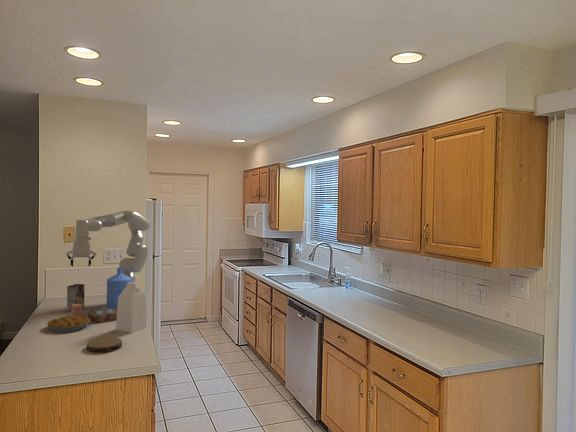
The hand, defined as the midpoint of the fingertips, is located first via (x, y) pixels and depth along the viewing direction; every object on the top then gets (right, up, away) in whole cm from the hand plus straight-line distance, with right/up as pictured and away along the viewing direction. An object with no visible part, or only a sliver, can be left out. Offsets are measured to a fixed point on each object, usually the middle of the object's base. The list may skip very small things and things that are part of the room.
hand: (80, 266), depth 277 cm
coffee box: (-9, -30, +11) cm, 33 cm away
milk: (+42, -32, -28) cm, 60 cm away
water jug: (+20, -31, +12) cm, 38 cm away
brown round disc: (+41, -34, -61) cm, 81 cm away
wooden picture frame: (+19, -31, -10) cm, 38 cm away
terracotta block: (0, -30, -5) cm, 31 cm away
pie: (+7, -32, -29) cm, 44 cm away
